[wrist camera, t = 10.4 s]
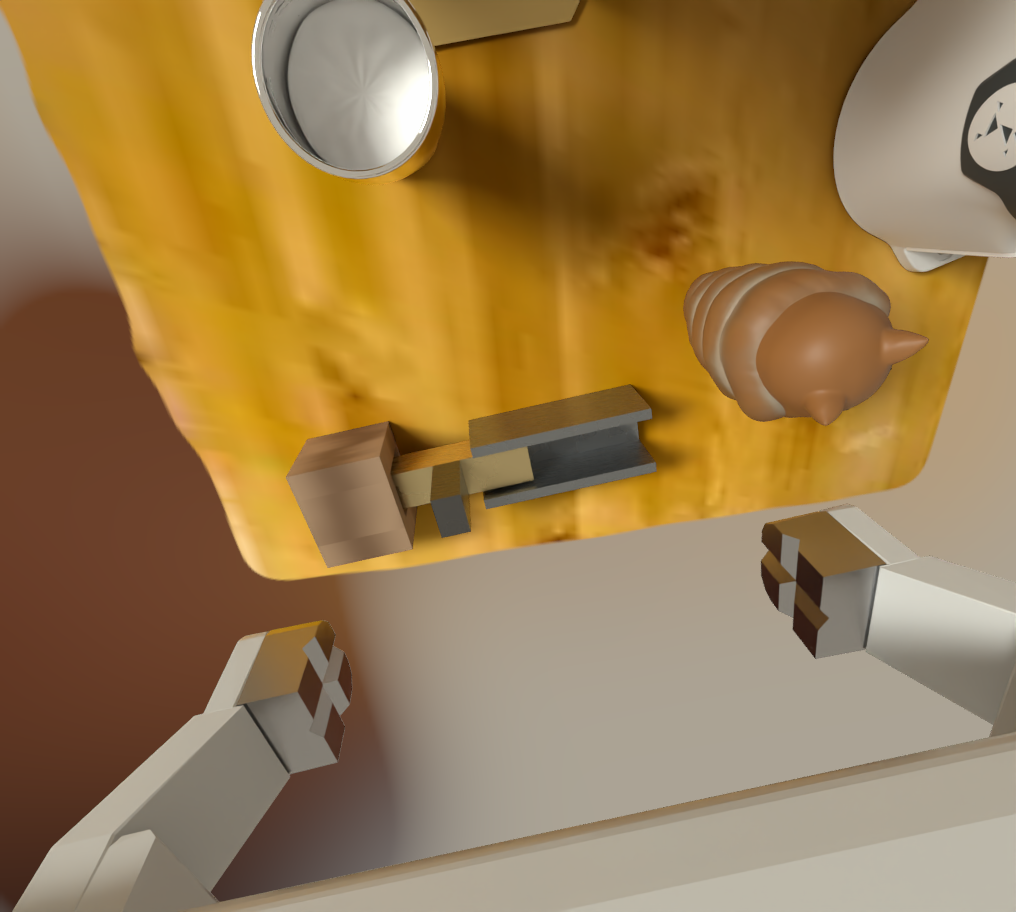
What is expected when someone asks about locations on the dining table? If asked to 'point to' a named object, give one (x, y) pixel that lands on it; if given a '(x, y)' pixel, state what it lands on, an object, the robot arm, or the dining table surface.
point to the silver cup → (350, 85)
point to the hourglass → (488, 17)
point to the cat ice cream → (794, 338)
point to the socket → (352, 495)
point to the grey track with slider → (568, 443)
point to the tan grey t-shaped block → (455, 480)
